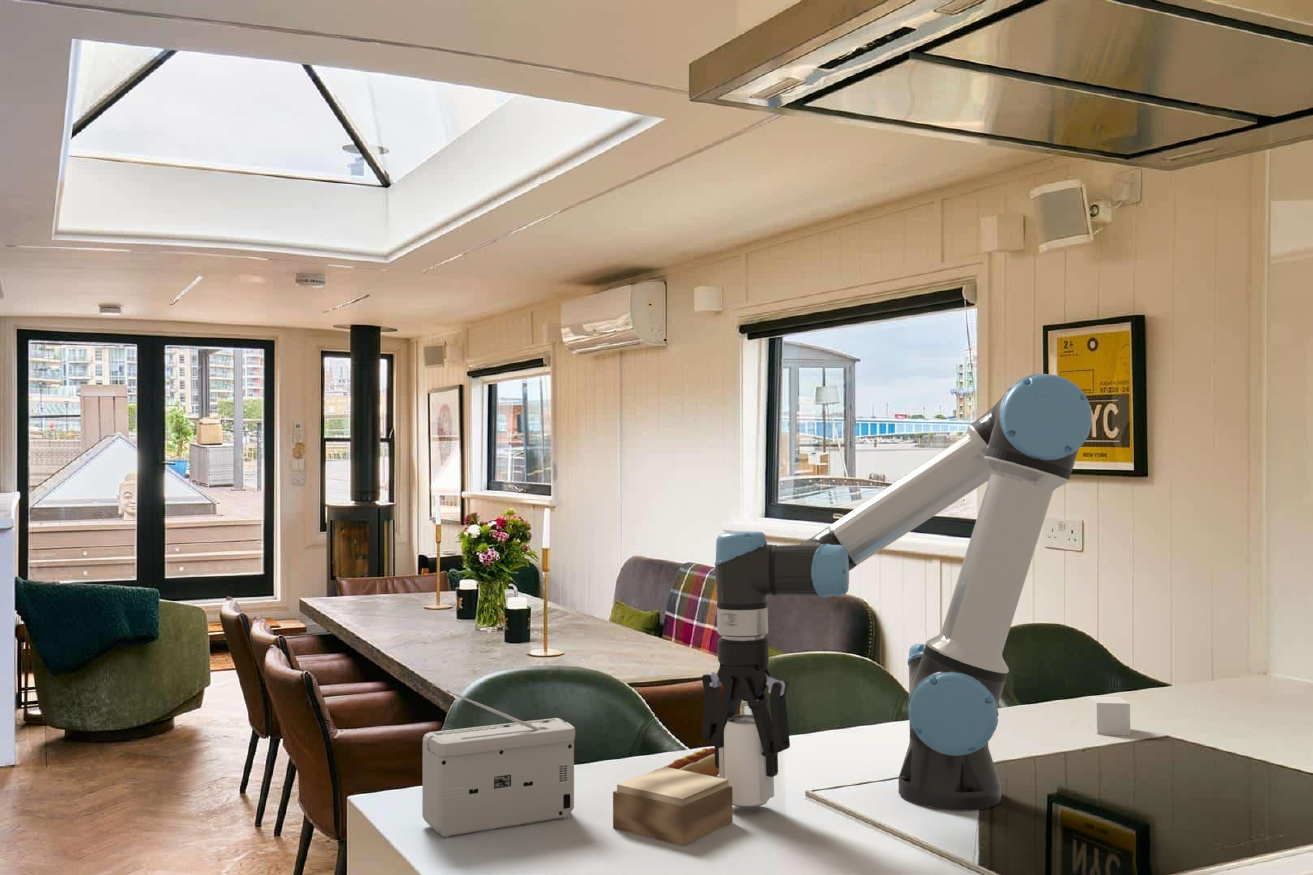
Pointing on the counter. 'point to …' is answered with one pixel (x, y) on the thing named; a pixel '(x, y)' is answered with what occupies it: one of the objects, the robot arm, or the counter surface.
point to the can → (743, 760)
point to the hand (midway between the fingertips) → (746, 793)
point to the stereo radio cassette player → (497, 774)
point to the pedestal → (672, 805)
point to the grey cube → (1109, 715)
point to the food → (698, 763)
